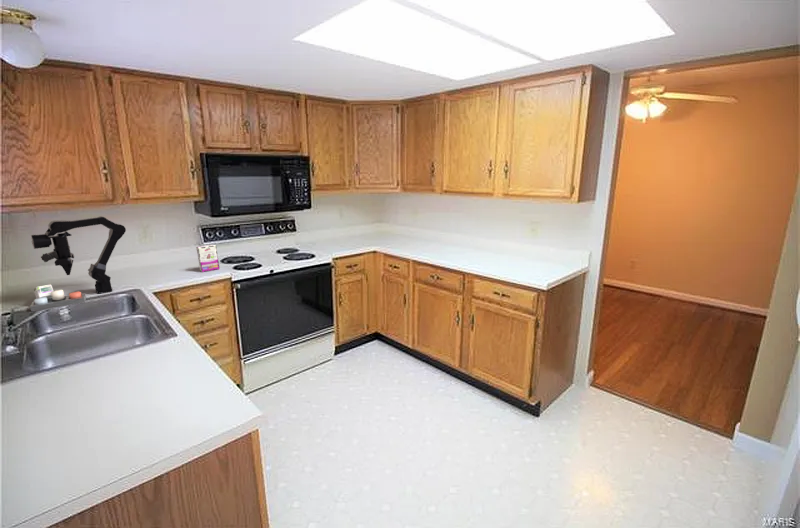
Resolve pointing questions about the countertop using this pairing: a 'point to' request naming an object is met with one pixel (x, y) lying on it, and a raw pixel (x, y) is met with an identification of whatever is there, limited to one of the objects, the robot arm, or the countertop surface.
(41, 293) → the syrup box
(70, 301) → the console
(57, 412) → the countertop surface
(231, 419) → the countertop surface
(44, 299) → the blue button
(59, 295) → the ivory button
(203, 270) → the candy bar box
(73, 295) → the red button
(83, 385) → the countertop surface
